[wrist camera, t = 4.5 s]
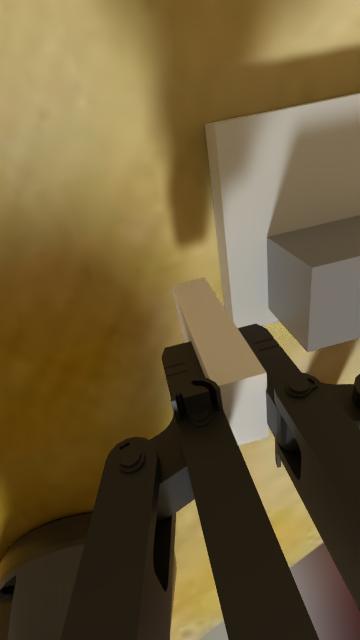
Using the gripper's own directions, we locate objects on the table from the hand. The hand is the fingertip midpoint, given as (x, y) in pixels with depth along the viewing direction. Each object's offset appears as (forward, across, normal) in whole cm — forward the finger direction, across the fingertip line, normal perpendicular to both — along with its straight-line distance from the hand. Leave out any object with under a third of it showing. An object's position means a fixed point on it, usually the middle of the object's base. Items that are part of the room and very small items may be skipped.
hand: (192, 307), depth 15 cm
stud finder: (+2, +7, 0) cm, 7 cm away
